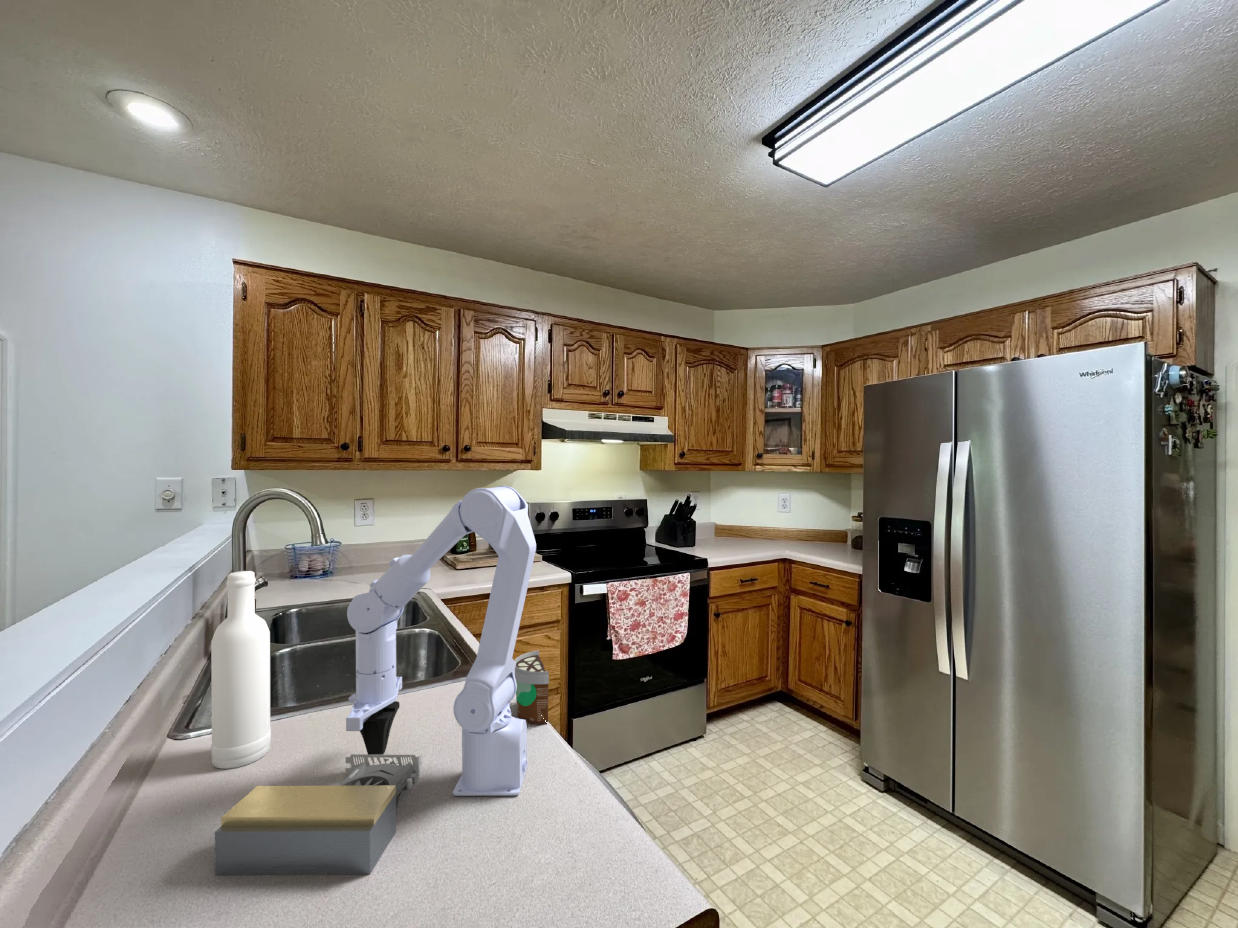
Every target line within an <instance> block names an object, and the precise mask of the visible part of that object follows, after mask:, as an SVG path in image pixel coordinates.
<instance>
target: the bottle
mask: <svg viewBox="0 0 1238 928" xmlns="http://www.w3.org/2000/svg"><path fill="white" fill-rule="evenodd" d="M226 577H227V578H226V579H227V580H226V583H225V585H226V588H227V589H226V593H227V617H226V618H225V619H224V620H223V621H222V622H221V623H219V624H218V626H217V627H216V629H215V631H214V634H213V637H212V638H211V642H210V643H211V645H210V646H211V648H210V649H211V651H210V652H211V653H210V654H211V660H210V661H211V665H210V666H211V667H210V668H211V671H210V672H211V744H210V755H211V756H210V757H211V764H212V766H213V767H215V768H217V769H221V770H222V769H223V770H224V769H225V770H229V769H235V768H236V769H237V768H240V767H244V766H247V765H250V764H252V763H255V762H256V761H259V760H261V758H264V757H265V756H266V755H267V754H268V752H270V750H271V739H272V729H271V631H270V629H269V626H268V623H267V622H266V620H265V619H264V618H262V617H261V616H259V615H258V614H257V613H256V608H255V607H256V606H255V605H256V604H255V603H256V602H255V601H256V599H255V597H256V596H255V592H256V591H255V590H256V588H255V587H256V585H255V584H256V581H257V579H256V577H255V572H254V571H252V570H241V571H240V570H239V571H235V572H231V573H229V574H228V575H227V576H226Z"/></svg>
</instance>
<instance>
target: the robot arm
mask: <svg viewBox="0 0 1238 928" xmlns="http://www.w3.org/2000/svg"><path fill="white" fill-rule="evenodd" d="M471 533H475V534H476V535H477V536H479V538H480V537H481V538H482V540H485V542H487V543H488V544H489V545H490V546H491V548H493V550H494V551H495V553H496V555H497V556H498V557H497V563H496V565H495V572H494V577H493V580H492V586H491V590H490V593H489V599H488V603H487V608H486V612H485V617H484V623H483V626H482V631H481V634H480V635H481V636H480V640H479V644H478V649H477V654H476V657H475V660H474V662H473V664H472V666H471V668H470V670H469V672H468V674H467V676H466V678H465V683H464V686H463V688H462V690H461V691H460V692H459V694H457V695H456V698H455V700H454V702H453V715H454V718H455V720H456V722H457V724H459V726H460V727H461V753H462V754H461V762H462V763H461V775H460V777H459V779H458V781H457V782H456V785H455V787H454V788H453V791H452V795H453V796H461V797H462V796H463V797H464V796H472V797H473V796H474V797H475V796H518V795H519V794H520V791H521V788H522V785H523V782H524V779H525V776H526V772H527V769H528V765H529V763H528V727H527V724H528V723H526V720H524V719H519V718H518V717H514V716H512V711H511V708H510V704H511V703H510V702H511V701H512V700H513V699H514V697H516V690H517V683H516V679H515V667H516V662H515V659H513V657H514V656H513V655H514V652H515V647H516V646H515V645H516V643H517V637H518V634H519V633H518V632H519V630H520V624H521V619H522V614H523V611H524V605H525V601H526V597H527V591H528V587H529V583H530V578H531V574H532V569H533V565H534V560H535V556H536V551H537V543H536V538H535V534H534V531H533V528H532V524H531V521H530V518H529V503H527V501H526V500H525V499H524V497H522V495H521V494H520V493H519V492H518V490H517V489H515V488H513V487H512V486H508V485H499V486H496V487H487V488H486V487H478V488H477V487H476V488H474V489H471V490H470V491H468V492H467V493H466V494H464V497H463V498H462V500H459V501H458V502H457V503H455V504H453V506H452V507H451V509H450V511H449V512H448V513H447V515H446V516H444V518H443V519H442V520H441V522H440V523H439V524H438V525H437V526H436V527H435V529H434V530H433V531H432V532H431V533H430V534H429V536H428V537H427V538H426V539H425V540H424V541H423V543H422V544H421V545H420V546H419V547H418V548H417V550H415V551H414V553H413V554H403V555H401V556H398V557H394V558H392V559H391V560H390V561H389V562H388V565H389V568H388V569H387V570H386V571H385V572H384V573H383V574H382V575H381V577H380V578H379V579H375V580H373V581H372V582H371V583H370V584H369V587H370V588H369V590H368V592H364V593H363V592H362V593H360V594H357V595H354V596H353V598H352V600H351V601H350V602H349V603H348V604H349V605H348V607H347V609H346V617H347V618H346V619H347V622H348V623H349V625H350V626H351V628H352V629H353V630H355V693H352V694H351V695H350V696H349V697H348V703H351V704H352V707H351V708H350V709H351V710H350V713H349V714H348V715H347V716H346V717H345V731H346V732H359V733H360V735H361V737H362V739H363V742H364V745H365V746H364V747H365V750H366V753H367V755H385V753H386V749H387V747H388V741H389V737H390V733H391V730H392V726H393V722H394V719H395V717H396V715H397V712H398V710H399V709H400V707H401V706H400V702H399V701H398V697H399V691H400V690H402V689H403V676H397V629H398V621H399V619H400V618H401V616H402V615H403V614H404V613H403V612H404V610H405V606H406V605H407V604H408V603H409V602H410V601H411V600H412V599H413V598H414V597H415V595H417V594H418V593H419V591H421V589H423V587H424V586H426V584H427V583H429V581H430V579H431V568H432V567H433V566H434V565H435V564H437V562H438V561H439V560H441V558H442V557H444V555H445V554H446V553H448V552H449V551H450V550H451V549H452V548H453V547H454V546H455V545H456V544H457V543H459V541H460V540H462V539H463V538H464V537H465V536H466V535H468V534H471ZM396 700H397V701H396Z"/></svg>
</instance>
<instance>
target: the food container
mask: <svg viewBox="0 0 1238 928" xmlns="http://www.w3.org/2000/svg"><path fill="white" fill-rule="evenodd" d="M514 661H515V662H516V667H515V679H516V683H517V690H516V693H515V697H516V698H515V699H516V712H517V714H516V715H517V718H518V719H524V720H526V724H528V725H529V724H530V725H536V726H537V725H539V726H541V725H542V726H543V725H544V726H545V725H548V724H547V723H546V722H548V723H549V684H550V675H549V671H548V670H546V669H545V667H544V663H543V661H542V660H541V657H540V650H533V651H529V652H526V653H523V654H520V655H519V656H517V657H516V658H515V659H514ZM541 715H542V716H541ZM543 718H544V719H543ZM545 720H546V722H545Z"/></svg>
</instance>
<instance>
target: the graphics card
mask: <svg viewBox="0 0 1238 928" xmlns="http://www.w3.org/2000/svg"><path fill="white" fill-rule="evenodd" d="M369 758H370V760H371V761H372V765H371V764H370V761H369ZM375 758H376V760H375ZM381 758H382V759H383V761H384V763H382V760H381ZM390 758H391V759H392V761H390ZM394 758H396V761H395V759H394ZM422 758H423V753H422V752H421V753H419V755H417V756H416V755H415V754H383V755H368V754H365V753H364V754H362V753H361V754H355V753H354V754H350V756H345V764H349V765H350V767H346V768H345V774H346V775H347V774H348V775H347V776H346V777H345V778H344V779H343V780H342V781H341V782H340V784H338V785H337V786H370V785H396V798H397V797H398V796H399V799H398V804H397V805H398V806H397V808H399V807H400V806H401V805H402V803H403V802H404V800H405V799H406V798H407V796H408V795H409V794H410V792H411V791H412V790H413V789H414V787H415V786H416V785H417V783H418V782H419V781H420V779H421V777H420V776H421V774H423V759H422ZM376 761H377V762H378V763H377V762H376ZM388 761H390V762H389V763H388Z"/></svg>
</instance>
